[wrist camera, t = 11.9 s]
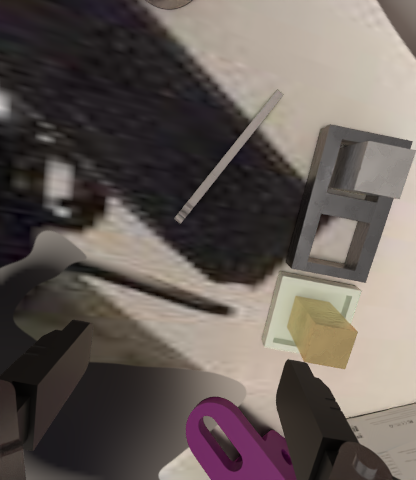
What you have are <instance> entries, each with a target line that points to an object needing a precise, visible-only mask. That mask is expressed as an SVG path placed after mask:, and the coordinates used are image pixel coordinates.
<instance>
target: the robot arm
mask: <svg viewBox="0 0 416 480" xmlns="http://www.w3.org/2000/svg"><path fill="white" fill-rule="evenodd" d="M146 1H147V2H149V3H151V4H152V5H154V6H157V7H160V8H165V9H173V8H179V7H181V6H184V5H186V4H187V3H189V2H190V1H191V0H146ZM92 335H93V323H89V322H84V321H78V320H72V321H71V322H70V323H69V324H68V325H67V326H66V327H65V328H64V329H63V330H62V331H60V330H54V331H52V332H50V333H48V334H46V335H44V336H42V337H41V338H40V339H39V340H38V341H37V342H36V343H35V344H34V345H33V346H32V347H31V348H29V349H28V350H27V351H26V353H25V354H23V355H22V356H21V357H20V358H19V359H17V360H16V361H15V362H14V363H13V364H12V365H11V366H10V367H9V368H8V369H7V370H6V371H4V372H3V373H2V374H1V375H0V480H26V475H25V465H24V454H23V449H25V450H30V451H33V450H34V449H35V447H36V446H37V444H38V442H39V441H40V440H41V438H42V436H43V435H44V433H45V432H46V430H47V429H48V427H49V426H50V424H51V423H52V421H53V420H54V418H55V417H56V415H57V414H58V412H59V411H60V409H61V408H62V406H63V405H64V403H65V401H66V400H67V399H68V397H69V396H70V394H71V393H72V391H73V389H74V388H75V386H76V385H77V383H78V382H79V380H80V379H81V377H82V376H83V374H84V372H85V371H86V369H87V365H88V363H89V359H90V352H91V344H92ZM276 406H277V411H278V414H279V418H280V421H281V425H282V429H283V432H284V436H285V439H286V443H287V446H288V450H289V454H290V457H291V461H292V464H293V468H294V471H295V475H296V479H297V480H400V479H398V478H396V477H394V476H392V474H391V472H390V470H389V468H388V466H387V465H386V464H385V462H384V461H383V460H382V459H381V458H380V457H379V456H378V455H377V454H376V453H374V452H373V451H372V450H370V449H369V448H367V447H365V446H363V445H361V444H360V443H359V441H358V439H357V438H356V436H355V434H354V432H353V430H352V429H351V427H350V425H349V423H348V421H347V420H346V418H345V416H344V414H343V412H342V411H341V409H340V407H339V405H338V403H337V402H335V398H334V396H333V394H332V393H331V391H330V389H329V388H328V387H327V386H326V385H325V384H324V383H323V382H322V381H321V380H320V379H319V378H315V377H314V376H313V374H312V372H311V370H310V368H309V366H308V364H307V363H305V362H300V361H294V360H289V359H288V360H287V361H286V362H285V365H284V369H283V372H282V376H281V379H280V383H279V386H278V390H277V394H276Z"/></svg>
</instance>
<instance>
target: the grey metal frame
mask: <svg viewBox="0 0 416 480" xmlns="http://www.w3.org/2000/svg"><path fill="white" fill-rule="evenodd" d="M366 141H372V142H377V143H382V144H387V145H392V146H397V147H401V148H406V149H410V148H411V145H412V142H413V141H408V140H403V139H399V138H394V137H389V136H384V135H379V134H374V133H369V132H364V131H360V130H355V129H350V128H345V127H340V126H335V125H328V126H326V127H324V128H322V129H321V130H320V134H319V138H318V141H317V145H316V149H315V153H314V156H313V160H312V164H311V168H310V172H309V175H308V179H307V183H306V187H305V191H304V194H303V198H302V202H301V206H300V210H299V213H298V217H297V221H296V225H295V228H294V232H293V236H292V240H291V244H290V247H289V251H288V255H287V259H286V263H287V264H288V265H289V266H290V267H291V269H297V270H302V271H307V272H312V273H317V274H323V275H328V276H333V277H338V278H344V279H349V280H354V281H359V282H364V283H366V280H367V277H368V274H369V271H370V268H371V265H372V262H373V259H374V256H375V253H376V250H377V247H378V244H379V241H380V238H381V235H382V232H383V229H384V226H385V223H386V220H387V217H388V214H389V211H390V208H391V205H392V202H393V199H394V198H386V197H377V196H367V195H366V197H365V200H360V199H355V198H350V197H345V196H340V195H335V194H330V193H327V191H328V187H329V184H330V180H331V177H332V173H333V170H334V166H335V162H336V159H337V155H338V152H339V148H340V145H341V144H343V145H347V146H349V145H353V144H357V143H362V142H366ZM321 214H326V215H331V216H336V217H341V218H346V219H351V220H357V221H358V223H357V226H356V229H355V233H354V236H353V239H352V242H351V245H350V249H349V252H348V255H347V258H346V261H345V264H342V263H336V262H331V261H326V260H321V259H316V258H311V257H309V255H310V251H311V248H312V244H313V241H314V237H315V233H316V230H317V226H318V223H319V219H320V216H321Z"/></svg>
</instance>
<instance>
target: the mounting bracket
mask: <svg viewBox="0 0 416 480" xmlns="http://www.w3.org/2000/svg"><path fill="white" fill-rule="evenodd" d="M203 416H210V417H212V418H213V419H214V420H215V421H216V422H217V424H218V425H219V426H220V428H221V429H222V430H223V432H224V433H225V434H226V436H227V437H228V438H229V440H230V441H231V442H232V444H233V445H234V446H235V448H236V449H237V450H238V452H239V453H240V455H241V456H239V457H238V458H237V459H236V460H235V461H232V460H230V459H229V457H228V456H227V455H226V453H225V452H224V451H223V449H222V448H221V447H220V445H219V444H218V442H217V441H216V440H215V438H214V437H213V436H212V434H211V433H210V432H209V430H208V429H207V427H206V426H205V424H204V422H203ZM186 437H187V442H188V445H189V447H190V449H191V451H192V453H193V454H194V456H195V457H196V459H197V460H198V462H199V463H200V465H201V466H202V468H203V469H204V470H205V472H206V473H207V475H208V476H209V478H210V479H211V480H297V479H296V475H295V471H294V468H293V464H292V461H291V457H290V454H289V450H288V446H287V443H286V439H285V438H284V437H282V436H281V435H280V434H279V433H277V432H276V431H275V430H270V431H269V432H268V433H267V434H265V435H264V436H263V437H262V438H261V436H260V435H259V434H258V433H257V431H256V430H255V429H254V427H253V426H252V425H251V424H250V422H249V421H248V420H247V419H246V417H245V416H244V415H243V414H242V412H241V411H240V410H239V409H238V407H237V406H235V405H234V404H233V403H232V402H230V401H229V400H227V399H224V398H221V397H209V398H206V399H204V400H202V401H201V402H200V403H199V404H198V405H197V406H196V407H195V408H194V410H193V411H192V412H191V414H190V415H189V417H188V420H187V424H186Z"/></svg>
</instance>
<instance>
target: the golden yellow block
mask: <svg viewBox="0 0 416 480" xmlns="http://www.w3.org/2000/svg"><path fill="white" fill-rule="evenodd" d="M287 328H288V330H289V332H290V334H291V336H292V338H293V340H294V342H295V344H296V346H297V348H298V350H299V352H300V354H301V356H302V358H303V360H304V362H308V363H313V364H319V365H324V366H330V367H335V368H341V369H345V368H346V365H347V362H348V359H349V357H350V354H351V351H352V348H353V345H354V342H355V339H356V336H357V333H358V332H357V330H356V329H355V328H354V327H353V326H352V325H351V324H350V323H349V322H348V321H347V320H346V319H345V318H344V317H343V316H342V315H341V314H340V313H339V312H338V310H337V309H336V308H335V307H334V306H333V305H332V304H331V303H330V302H326V301H321V300H316V299H310V298H305V297H300V296H295V299H294V303H293V307H292V310H291V314H290V318H289V321H288V325H287Z"/></svg>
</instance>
